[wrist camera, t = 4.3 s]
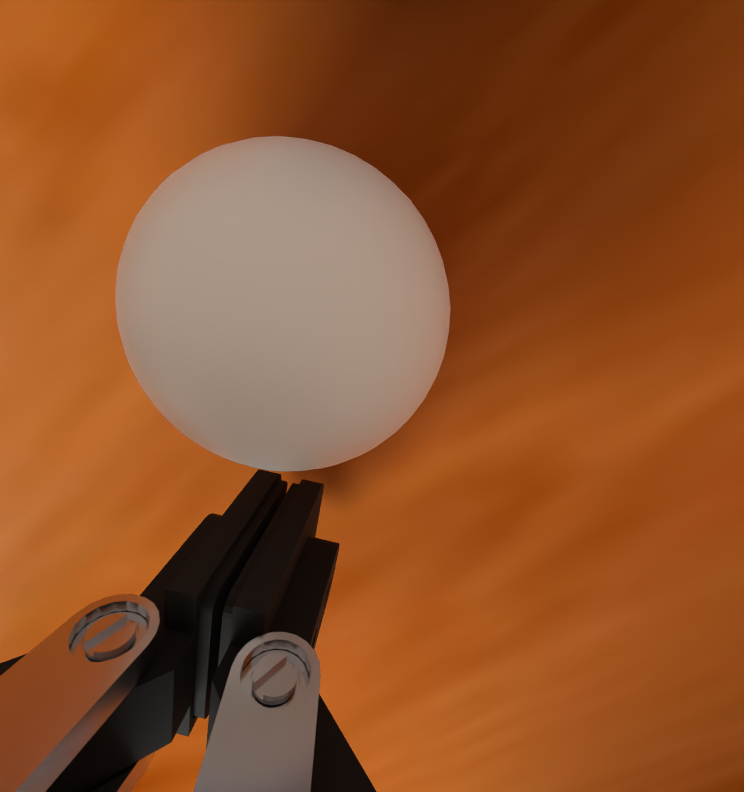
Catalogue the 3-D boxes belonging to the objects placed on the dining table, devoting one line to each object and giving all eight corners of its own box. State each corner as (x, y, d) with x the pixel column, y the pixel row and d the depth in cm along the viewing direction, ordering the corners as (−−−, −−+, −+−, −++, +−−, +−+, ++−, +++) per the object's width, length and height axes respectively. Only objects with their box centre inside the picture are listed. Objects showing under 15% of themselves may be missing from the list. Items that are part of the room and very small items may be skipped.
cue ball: (538, 467, 5) (494, 303, 9) (190, -46, 3) (350, 62, 7) (240, 576, 7) (320, 403, 12) (-62, 339, 5) (175, 241, 10)
